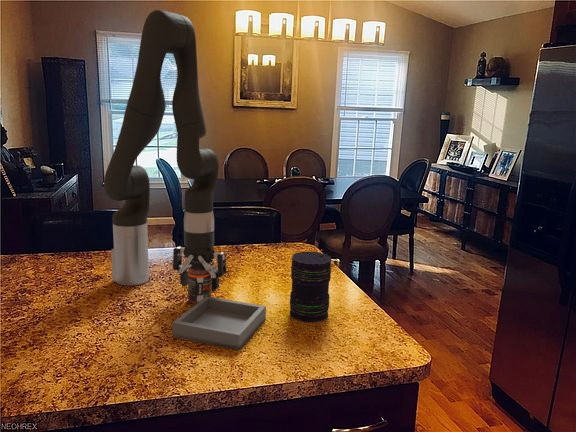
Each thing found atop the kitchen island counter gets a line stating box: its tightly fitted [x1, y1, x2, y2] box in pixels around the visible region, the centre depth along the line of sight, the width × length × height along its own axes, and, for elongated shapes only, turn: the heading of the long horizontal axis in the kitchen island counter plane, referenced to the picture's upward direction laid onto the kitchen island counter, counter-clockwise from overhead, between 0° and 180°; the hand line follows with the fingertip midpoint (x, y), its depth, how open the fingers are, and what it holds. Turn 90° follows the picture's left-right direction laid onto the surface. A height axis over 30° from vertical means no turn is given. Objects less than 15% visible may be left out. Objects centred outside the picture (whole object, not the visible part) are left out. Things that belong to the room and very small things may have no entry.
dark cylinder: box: [289, 251, 332, 324], centre depth 116 cm, size 10×10×15 cm
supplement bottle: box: [187, 261, 212, 305], centre depth 122 cm, size 6×6×11 cm
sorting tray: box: [171, 296, 267, 351], centre depth 108 cm, size 16×16×4 cm
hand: (199, 288), depth 122 cm, fingers open, 8 cm apart
